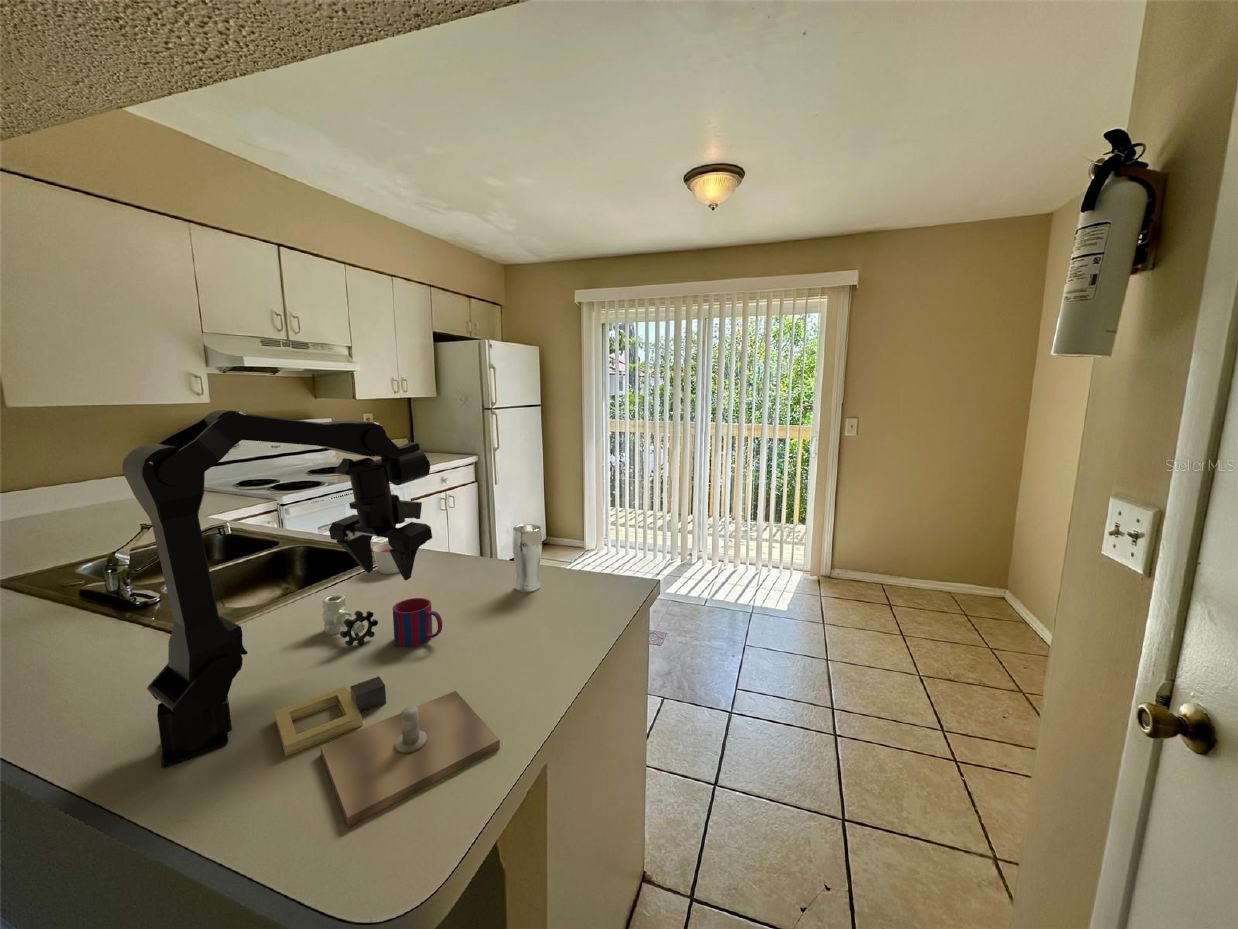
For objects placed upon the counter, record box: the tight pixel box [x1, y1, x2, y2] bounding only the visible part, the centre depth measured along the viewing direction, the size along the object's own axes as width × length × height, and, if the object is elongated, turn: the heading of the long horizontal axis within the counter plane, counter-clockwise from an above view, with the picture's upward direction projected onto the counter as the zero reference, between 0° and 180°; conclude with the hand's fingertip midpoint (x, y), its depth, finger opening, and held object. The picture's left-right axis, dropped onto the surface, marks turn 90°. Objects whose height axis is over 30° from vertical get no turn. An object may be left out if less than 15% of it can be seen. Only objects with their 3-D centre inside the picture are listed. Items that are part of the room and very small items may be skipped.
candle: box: [372, 542, 400, 575], centre depth 126 cm, size 9×9×6 cm
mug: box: [392, 597, 443, 649], centre depth 90 cm, size 7×10×7 cm
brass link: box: [274, 676, 387, 757], centre depth 69 cm, size 13×9×3 cm
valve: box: [321, 594, 379, 647], centre depth 92 cm, size 7×7×12 cm
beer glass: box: [512, 523, 543, 593], centre depth 115 cm, size 7×7×15 cm
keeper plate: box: [320, 690, 501, 828], centre depth 62 cm, size 18×14×6 cm
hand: (388, 575), depth 86 cm, fingers open, 9 cm apart
